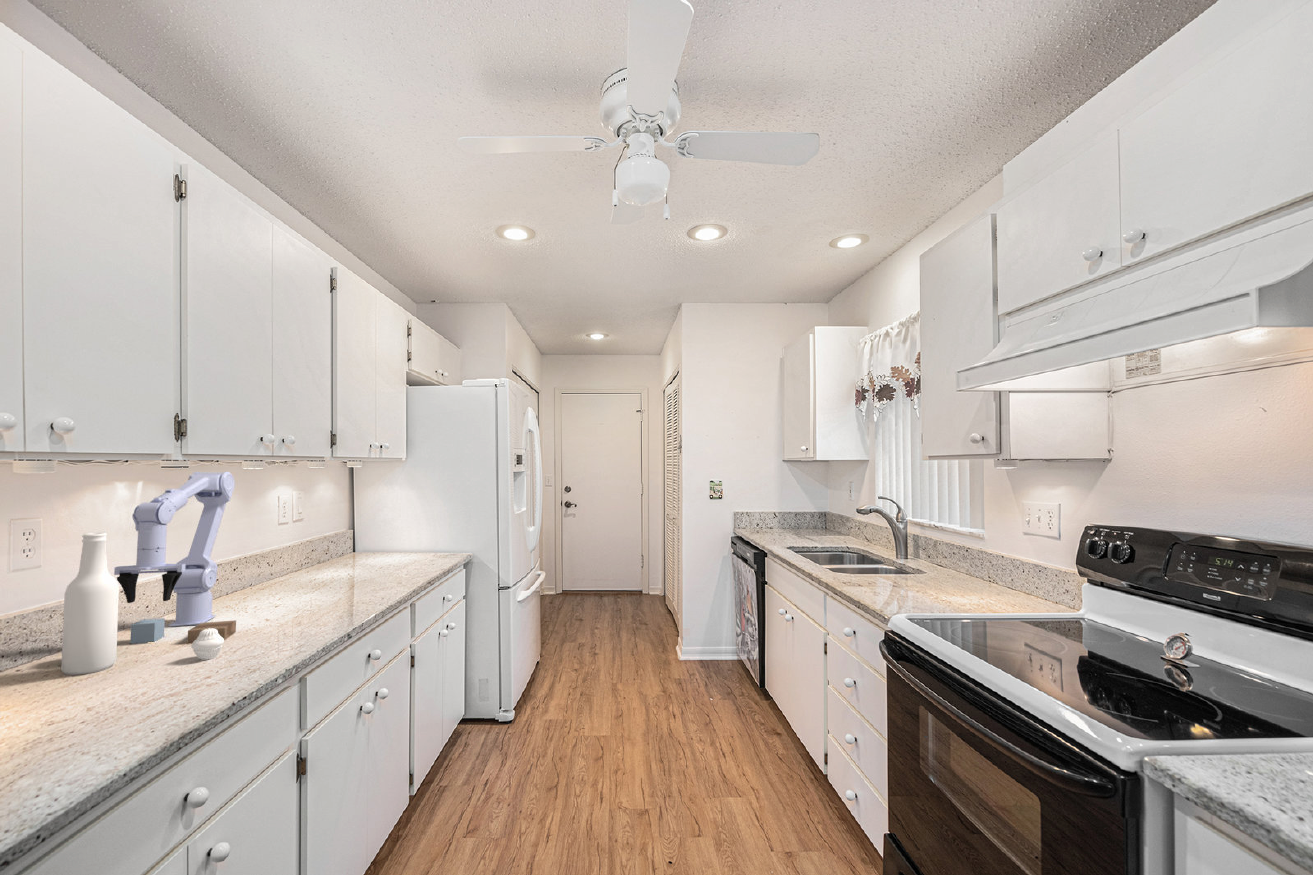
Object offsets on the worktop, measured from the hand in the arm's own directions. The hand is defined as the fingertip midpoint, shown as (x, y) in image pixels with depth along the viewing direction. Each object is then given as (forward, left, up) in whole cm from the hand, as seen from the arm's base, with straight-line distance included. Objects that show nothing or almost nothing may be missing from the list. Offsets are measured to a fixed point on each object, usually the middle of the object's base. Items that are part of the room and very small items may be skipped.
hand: (148, 601), depth 153 cm
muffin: (+21, +21, -10) cm, 31 cm away
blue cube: (0, 0, -10) cm, 10 cm away
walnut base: (+2, +15, -10) cm, 18 cm away
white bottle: (+22, -1, -10) cm, 24 cm away
